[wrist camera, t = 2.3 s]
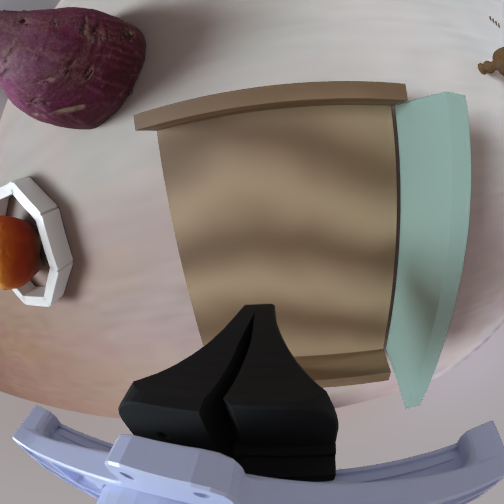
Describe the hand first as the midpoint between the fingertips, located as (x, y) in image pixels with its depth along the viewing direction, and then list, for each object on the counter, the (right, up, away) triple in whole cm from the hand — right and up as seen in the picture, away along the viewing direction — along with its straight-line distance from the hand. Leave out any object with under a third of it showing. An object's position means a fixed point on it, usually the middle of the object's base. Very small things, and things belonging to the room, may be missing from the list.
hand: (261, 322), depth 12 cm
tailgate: (+10, +4, +6) cm, 12 cm away
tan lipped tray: (+2, +4, +8) cm, 9 cm away
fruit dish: (-26, +4, +12) cm, 29 cm away
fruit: (-26, +5, +12) cm, 29 cm away
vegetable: (-14, +18, +5) cm, 23 cm away
